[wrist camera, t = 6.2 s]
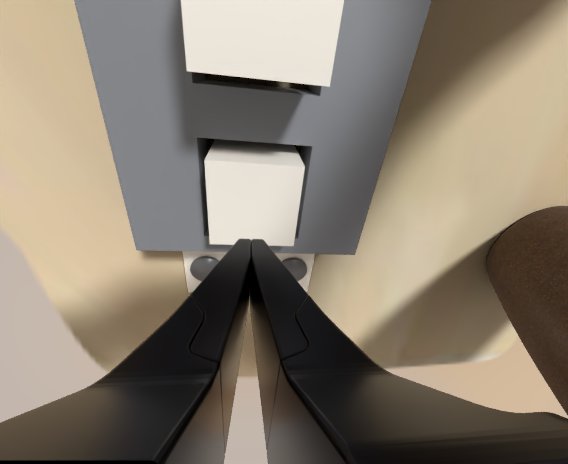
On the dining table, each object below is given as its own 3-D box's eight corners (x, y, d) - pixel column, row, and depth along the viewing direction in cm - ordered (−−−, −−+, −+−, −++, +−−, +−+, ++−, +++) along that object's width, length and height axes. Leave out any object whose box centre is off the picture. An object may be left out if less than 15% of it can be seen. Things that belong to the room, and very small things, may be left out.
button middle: (323, -57, 9) (365, -129, 6) (306, 79, 11) (329, 86, 8) (201, -79, 8) (165, -176, 5) (208, 69, 10) (186, 71, 7)
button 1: (292, 142, 14) (305, 166, 11) (285, 208, 16) (293, 246, 13) (216, 136, 14) (204, 160, 10) (219, 205, 16) (209, 244, 12)
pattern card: (316, 241, 18) (317, 245, 18) (306, 289, 21) (307, 293, 20) (182, 238, 17) (180, 242, 17) (188, 289, 20) (187, 294, 19)
